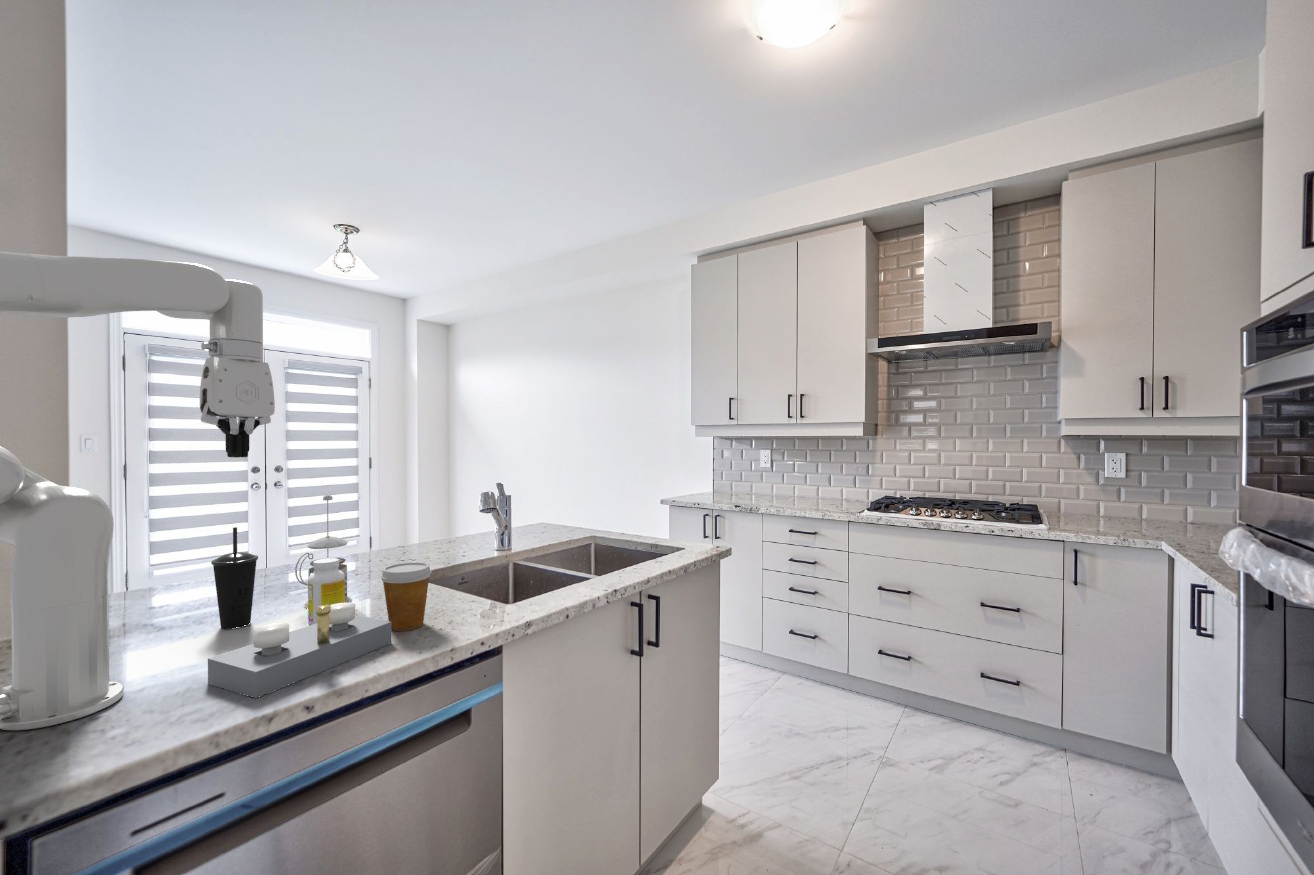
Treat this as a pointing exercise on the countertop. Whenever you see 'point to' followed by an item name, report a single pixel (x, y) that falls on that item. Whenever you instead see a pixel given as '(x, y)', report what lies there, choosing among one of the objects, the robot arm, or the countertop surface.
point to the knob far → (341, 615)
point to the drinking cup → (235, 586)
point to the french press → (325, 544)
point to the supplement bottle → (325, 586)
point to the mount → (295, 657)
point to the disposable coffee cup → (406, 594)
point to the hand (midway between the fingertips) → (237, 456)
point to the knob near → (271, 637)
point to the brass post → (323, 624)
